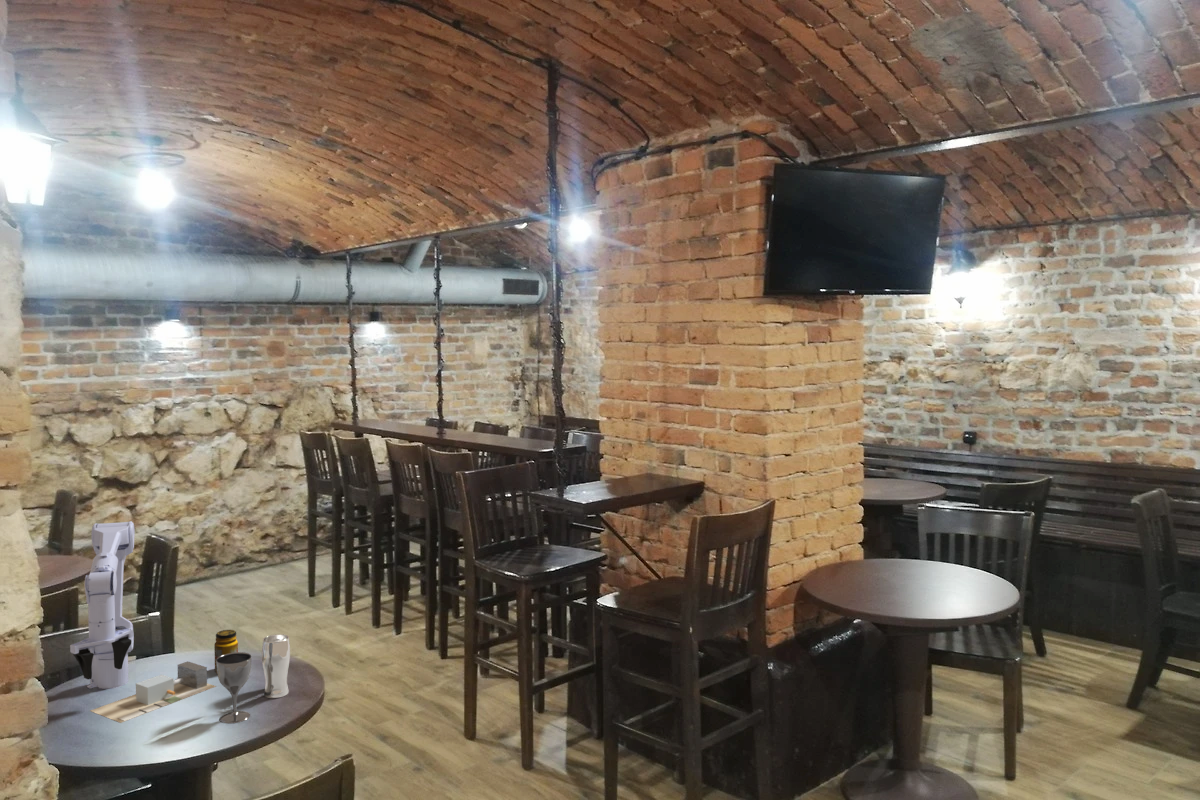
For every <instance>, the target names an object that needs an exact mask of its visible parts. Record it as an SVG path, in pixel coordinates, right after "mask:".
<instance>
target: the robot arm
mask: <svg viewBox="0 0 1200 800" xmlns="http://www.w3.org/2000/svg"><path fill="white" fill-rule="evenodd" d="M90 537H91V544H92V548H93V550H94V552H95V556H94V557H93V559H92V563H91V568H90V572H89V573H88V574H86V575H85V577H84V593H85V597H86V599H85V600H86V605H87V609H88V610H87V611H88V613H87V614H88V637H87V638H84V639H82V640H80V641H78V642H75V643H72V644H70V645H69V648H70V649H69V650H70V651H69V652H70V653H71V654H72V655H73V657H74V658H75V660H76V661H77V662H78V665H79V666H80V669H81V671H82V675H83V678H84V679H86V680H89V682H90V683H89V685H87V686H86V687H87V689H93V688H96V687H98V688H99V689H104V690H105V689H109V690H110V689H114V688H119V687H122V686H125V685H126V684H128V683H129V653H131V651H133V649H134V640H135V637H134V635H135V633H134V625H133V623H132V622H131V620H129V619H128V618H125V617H124V616H123V598H124V595H123V594H124V591H123V590H124V569H125V566H124V565H125V561H126V558H127V557H128V556H129V555H131V554H132V553H134V548H135V524H134V522H133V521H124V522H123V521H121V522H105V523H103V522H102V523H96V522H95V523H93V524H92V527H91V536H90Z"/></svg>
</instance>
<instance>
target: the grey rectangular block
mask: <svg viewBox="0 0 1200 800" xmlns="http://www.w3.org/2000/svg"><path fill="white" fill-rule="evenodd" d="M207 671H208V668H207V666H204V665H200V664H197V663H194V662H191V661H183V662H182V663H179V664H177V679H179V678H183V682H182V683H179V684H182V685H185V686H188V687H191V688H194V689H198V688H202V687H205V686H207V683H208V672H207Z"/></svg>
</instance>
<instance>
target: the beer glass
mask: <svg viewBox="0 0 1200 800" xmlns="http://www.w3.org/2000/svg"><path fill="white" fill-rule="evenodd" d="M261 643H262V645H261V662H262V669H263V673H264V674H263V675H264V678H265V688H264V692H263V695H264V697H265V698H268V699H278V698H283V697H285V696H287V695H288V694H289V693H290V690H289V687H288V671H289V666H290V660H291V645H290V636H289V635H288V634H285V633H283V634H282V633H276V634H275V633H274V634H270V635H266V636H264V637H263V638H262V642H261Z"/></svg>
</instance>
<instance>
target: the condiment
mask: <svg viewBox="0 0 1200 800" xmlns="http://www.w3.org/2000/svg"><path fill="white" fill-rule="evenodd" d="M235 652H239V642H238V639H237V631H236V630H234V629H223V630H220V631H218V632H216V634H215V642H214V673H215V674H217V666H216V660H217V658H218V657H220V656H222V655H225V654H229V653H235Z"/></svg>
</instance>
